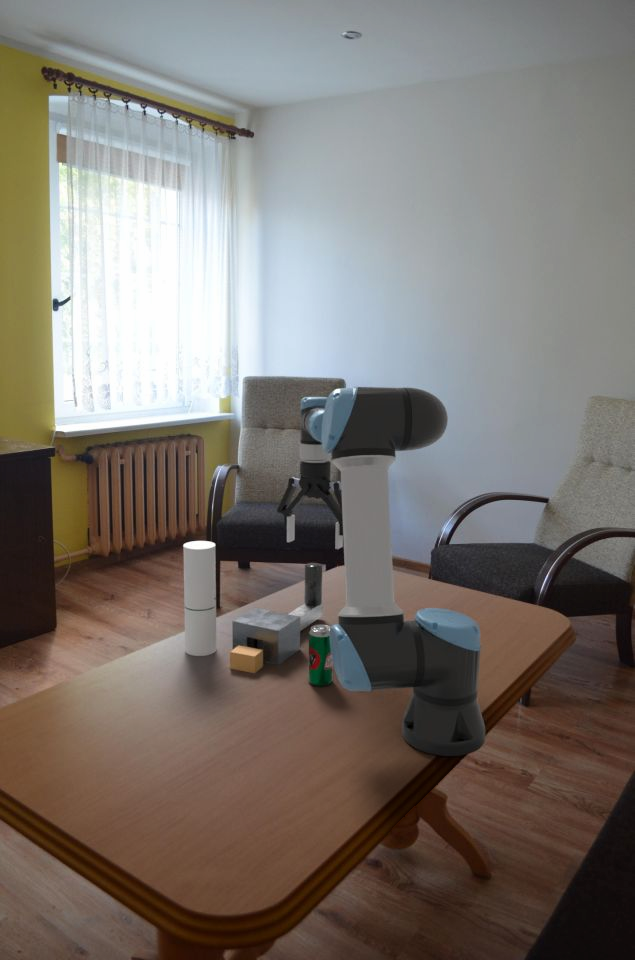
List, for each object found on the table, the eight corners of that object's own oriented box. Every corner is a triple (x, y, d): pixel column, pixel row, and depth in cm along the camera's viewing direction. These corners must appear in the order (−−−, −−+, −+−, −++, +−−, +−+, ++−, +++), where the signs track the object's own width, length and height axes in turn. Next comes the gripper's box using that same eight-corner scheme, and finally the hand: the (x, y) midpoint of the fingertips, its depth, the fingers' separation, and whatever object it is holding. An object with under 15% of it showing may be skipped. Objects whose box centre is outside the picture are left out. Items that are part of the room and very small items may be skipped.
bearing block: (278, 665, 176) (278, 630, 175) (232, 654, 182) (232, 621, 180) (299, 649, 185) (300, 616, 184) (255, 639, 191) (255, 607, 189)
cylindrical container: (219, 644, 187) (218, 541, 183) (212, 656, 180) (211, 550, 176) (189, 642, 188) (187, 540, 183) (181, 655, 181) (179, 548, 176)
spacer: (262, 666, 176) (254, 673, 172) (238, 662, 178) (230, 669, 174) (263, 649, 175) (254, 656, 171) (238, 645, 177) (230, 651, 174)
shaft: (272, 651, 181) (272, 594, 179) (255, 647, 183) (255, 591, 181) (324, 615, 204) (325, 564, 202) (309, 612, 206) (310, 561, 204)
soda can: (329, 688, 165) (330, 633, 163) (306, 685, 166) (306, 631, 164) (334, 678, 170) (335, 624, 168) (311, 675, 171) (311, 622, 169)
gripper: (368, 462, 193) (366, 547, 197) (278, 454, 205) (278, 535, 208) (355, 466, 187) (353, 554, 190) (263, 458, 198) (263, 541, 202)
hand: (314, 544), depth 199 cm, fingers open, 13 cm apart
